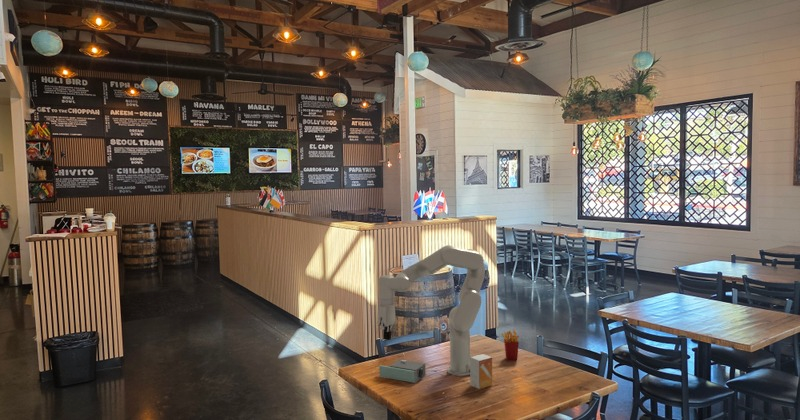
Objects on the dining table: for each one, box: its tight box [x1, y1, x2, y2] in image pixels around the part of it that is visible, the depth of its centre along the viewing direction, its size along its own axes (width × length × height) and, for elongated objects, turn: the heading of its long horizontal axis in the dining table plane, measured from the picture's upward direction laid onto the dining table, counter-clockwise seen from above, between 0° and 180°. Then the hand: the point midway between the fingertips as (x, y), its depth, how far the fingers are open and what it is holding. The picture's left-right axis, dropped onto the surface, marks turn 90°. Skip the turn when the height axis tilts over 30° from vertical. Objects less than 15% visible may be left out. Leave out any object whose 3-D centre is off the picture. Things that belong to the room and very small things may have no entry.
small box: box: [469, 353, 493, 390], centre depth 236 cm, size 8×6×13 cm
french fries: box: [501, 329, 520, 362], centre depth 271 cm, size 9×8×15 cm
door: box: [378, 364, 417, 384], centre depth 245 cm, size 19×1×5 cm, turn 61°
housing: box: [389, 358, 427, 384], centre depth 248 cm, size 15×10×7 cm, turn 61°
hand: (387, 339), depth 251 cm, fingers closed
